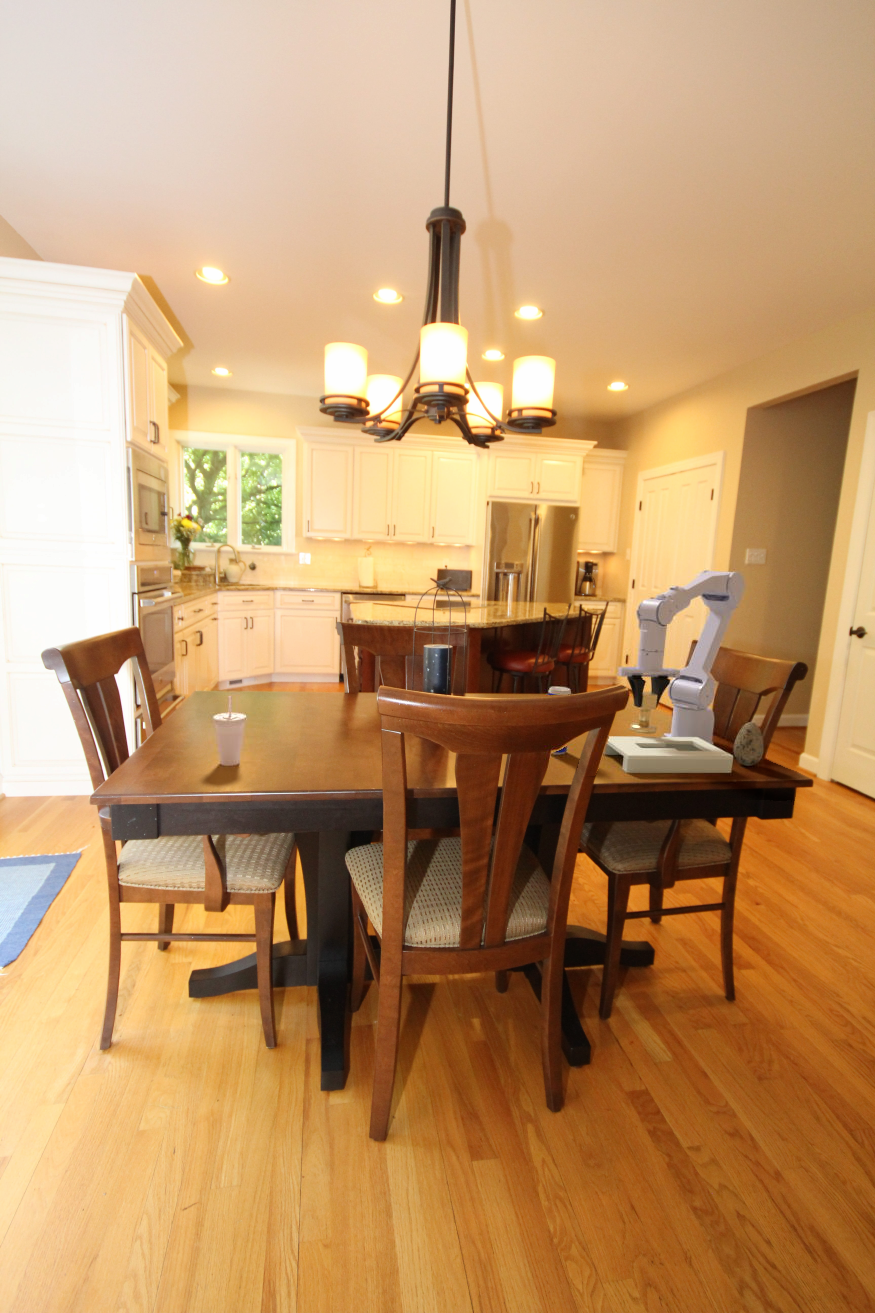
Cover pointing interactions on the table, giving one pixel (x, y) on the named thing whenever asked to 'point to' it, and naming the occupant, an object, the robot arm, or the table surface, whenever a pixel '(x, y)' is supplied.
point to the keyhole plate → (669, 755)
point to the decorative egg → (749, 744)
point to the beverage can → (559, 691)
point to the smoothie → (229, 735)
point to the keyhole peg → (645, 714)
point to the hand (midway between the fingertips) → (645, 706)
